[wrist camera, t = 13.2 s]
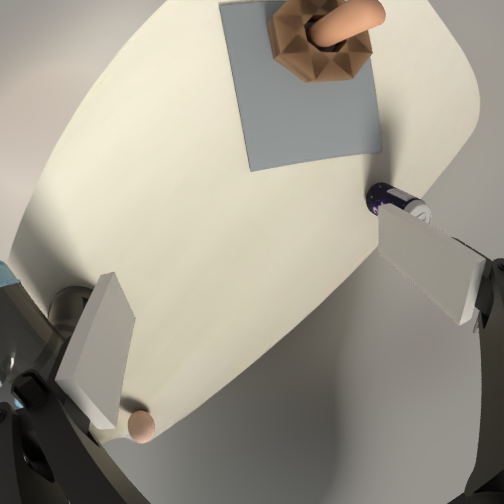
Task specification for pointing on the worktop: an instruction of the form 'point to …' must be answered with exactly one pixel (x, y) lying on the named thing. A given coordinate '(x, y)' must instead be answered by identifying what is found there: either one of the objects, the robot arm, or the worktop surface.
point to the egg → (141, 426)
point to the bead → (305, 54)
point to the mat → (294, 99)
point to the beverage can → (397, 201)
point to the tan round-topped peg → (345, 22)
